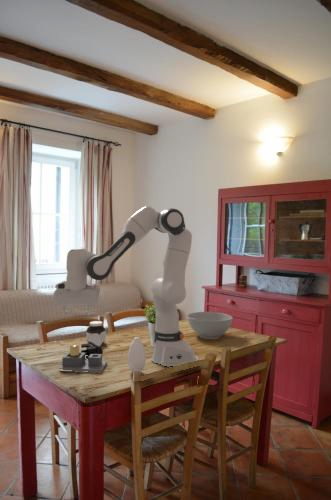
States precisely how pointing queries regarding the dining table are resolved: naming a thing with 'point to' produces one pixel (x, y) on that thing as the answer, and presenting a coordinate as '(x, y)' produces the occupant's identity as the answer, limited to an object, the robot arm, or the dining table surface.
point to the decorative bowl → (209, 324)
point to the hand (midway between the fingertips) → (76, 315)
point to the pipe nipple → (74, 351)
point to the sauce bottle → (136, 355)
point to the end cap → (91, 349)
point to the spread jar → (96, 333)
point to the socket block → (83, 363)
